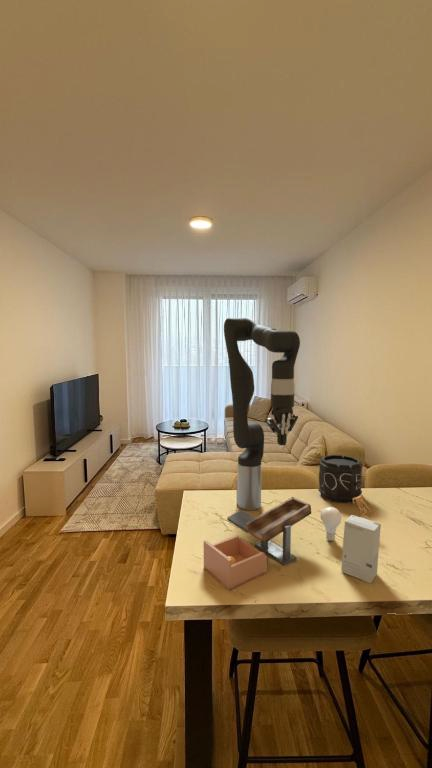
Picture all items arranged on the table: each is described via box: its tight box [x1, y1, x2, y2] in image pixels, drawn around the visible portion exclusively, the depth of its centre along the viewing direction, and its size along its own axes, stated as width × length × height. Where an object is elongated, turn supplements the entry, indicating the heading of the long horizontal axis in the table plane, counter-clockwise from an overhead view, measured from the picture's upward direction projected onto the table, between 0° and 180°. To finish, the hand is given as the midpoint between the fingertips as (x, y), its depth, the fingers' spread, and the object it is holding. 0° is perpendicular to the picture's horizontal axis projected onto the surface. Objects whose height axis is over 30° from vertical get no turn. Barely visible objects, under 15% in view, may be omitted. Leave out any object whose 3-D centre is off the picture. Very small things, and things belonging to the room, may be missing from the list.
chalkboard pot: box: [317, 454, 364, 504], centre depth 153 cm, size 18×18×16 cm
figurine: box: [352, 494, 372, 521], centre depth 125 cm, size 8×6×12 cm
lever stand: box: [254, 513, 298, 567], centre depth 110 cm, size 5×13×10 cm, turn 35°
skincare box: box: [340, 514, 382, 584], centre depth 99 cm, size 8×6×15 cm
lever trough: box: [226, 496, 312, 543], centre depth 114 cm, size 20×18×3 cm
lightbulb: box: [320, 506, 342, 542], centre depth 117 cm, size 6×6×11 cm
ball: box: [227, 556, 236, 565], centre depth 100 cm, size 4×4×4 cm
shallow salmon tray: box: [203, 535, 268, 591], centre depth 101 cm, size 12×13×8 cm
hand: (281, 444), depth 119 cm, fingers closed
